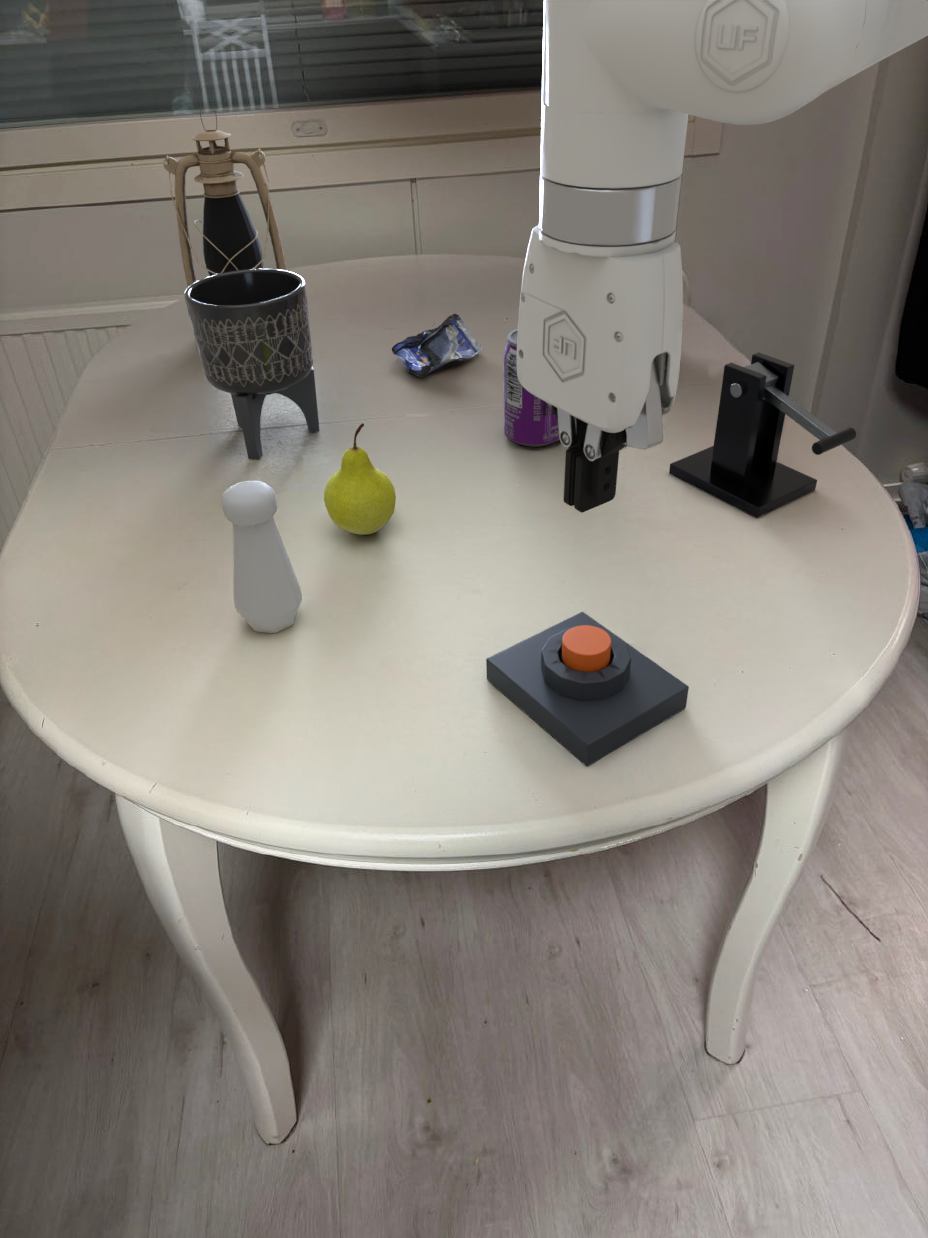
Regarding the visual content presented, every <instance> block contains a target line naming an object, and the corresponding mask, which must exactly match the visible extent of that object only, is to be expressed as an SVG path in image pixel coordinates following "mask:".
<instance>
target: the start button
mask: <svg viewBox="0 0 928 1238" xmlns="http://www.w3.org/2000/svg"><path fill="white" fill-rule="evenodd" d="M610 652H611V638H610V636H609V635H608V633H607V632H605V631H604V630H603V629H601V628H598V627H595V626H589V625H582V626H576V627H573V628H571V629H569V630H568V631H567V632H566V633H565V634H564V636H563V639H562V660H563V662H564V664H565V665H566V666H567V667H568V668H570V669H572V670H576V671H580V672H584V673H586V672H596V671H600V670H602V669H604V668H605V667H606V666H607V665H608V663H609V661H610Z"/></svg>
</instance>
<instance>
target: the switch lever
mask: <svg viewBox="0 0 928 1238" xmlns="http://www.w3.org/2000/svg"><path fill="white" fill-rule="evenodd" d="M744 367H745V368H747V369H750V370H753V371H755V372H758V373H760V374H763V375H766V376H767V377H766V383H765V389H764V395H763V400H764V399H766V400H768V401H769V402H770V403H772V404H773V405H774V406H775V407H777V408H778V409H779V410H781V411H782V412H783V413H785V416H787V417H789V418H790V419H791V420H792V421H794V422H795V423H797V424H798V425H799V426H800V427H802V428H803V429H804V430H806V431H807V432H808V433H810V434H811V435H812V436H813V437H815V438H816V440H817V439H818V440H817V441H816V442H813V443H812V444H811V452H812V453H813V454H814V455H816V456H821V455H823V454H824V453H826V452H829V451H831V450H833V449H835V448H837V447H839V446H842V445H845V444H846V443H848V442H851V441H853V440H855V439H856V437H857V431H856V429H855V428H853V427H849V426H848V427H847V428H844V429H842V430H840V431H838V432H837V431H836V430H834V429H833V428H831V427H830V426H828V425H827V424H826V423H825V422H823V421H822V420H821V419H820V418H818V417H817V416H816V415H814V414H812V413H811V412H810V411H809V410H808V409H806V408H804V407H803V406H802V405H800V404H799V403H798V402H797V401H795V400H794V399H792V398H791V397H788V396H787V395H786V394H784V393H783V392H782V391H780V390H779V389H778V388H776V387H775V384H776V382H777V380H778V376H776V375H775V374H774V373H772V372H771V371H770V370H768V369H767V368H766V367H764V366H763V365H762V364H760V363H759V362H757V363H754V364H751V363H750V364H749V365H746V366H744Z"/></svg>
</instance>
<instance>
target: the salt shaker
mask: <svg viewBox="0 0 928 1238" xmlns="http://www.w3.org/2000/svg"><path fill="white" fill-rule="evenodd" d="M277 505H278V502H277V497H276V493H275V491H274V489H273V487H271V485H269V484H267V483H265V482H264V481H260V480H245V481H240V482H236V483H234V484H233V485H231V486H229V487H228V488H227V489H226V490H225V492H224V493H223V494H222V495H221V506H222V512H223V515H224V517H225V519H226V520H227V521H228V522H230V523H231V524H232V532H233V533H232V547H233V548H232V555H233V557H232V558H233V559H232V560H233V561H232V562H233V565H232V566H233V568H232V569H233V603H234V608H235V610H236V612H237V613H238V614H239V615H240V616H241V618H243V619H244V620H245V621H246V622H247V624H249V626H250V627H251V628H252V629H253V631H254V632H257V633H267V634H269V633H270V634H277V633H279V632H281V631H283V630H285V629H288V628H289V627H291V626H293V625H294V623H295V619H296V615H297V613H298V611H299V609H300V607H301V605H302V601H303V593H302V588H301V584H300V582H299V579H298V577H297V575H296V572H295V569H294V567H293V565H292V562H291V559H290V558H289V557H290V556H289V554H288V552H287V549H286V546H285V544H284V542H283V539H282V537H281V533H280V531H279V529H278V526H277V523H276V521H275V518H274V516H275V514H276V513H277V510H278V506H277Z"/></svg>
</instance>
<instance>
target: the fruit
mask: <svg viewBox="0 0 928 1238" xmlns="http://www.w3.org/2000/svg"><path fill="white" fill-rule="evenodd" d="M363 427H365V424H364V423H363V422H362V423H361V424H359V425H358V427H357V429H356V430H355V433H354V437H353V446H351V447H349V448H348V449H346V450H345V451H344V453H343V455H342V458H341V464H340V468H339V469H338V470H337V471H336V472H335V473H333V474H332V475H331V476H330V477H329V479H328V480H327V482H326V484H325V488H324V492H323V496H324V497H323V500H324V506H325V509H326V511H327V514H328V516H329V518H330V519H331V521H332V522H333V523H334V524H335V526H337V527H338V528H340V529H342V530H343V531H346V532H348V533H349V534H350V533H351V534H354V535H360V536H362V535H363V536H365V535H372V534H374V533H377V532H378V531H379V530H380V529H381V528H383V527H384V526H385V525H386V524H387V523H388V522H389V521H390V519H392V516H393V515H394V514H395V513H394V512H395V508H396V501H397V500H396V499H397V496H396V490H395V486H394V484H393V482H392V480H391V479H390V478H389V476H388V475H387V474H386V473H385V472H384V471H383V470H380V469H378V468H376V467H374V465H373V463H372V461H371V459H370V456H369V454H368V452H367V451H366V449H364V448H362V447H360V446H357V437H358V435H359V433H360V432H361V430H362V429H363Z"/></svg>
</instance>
